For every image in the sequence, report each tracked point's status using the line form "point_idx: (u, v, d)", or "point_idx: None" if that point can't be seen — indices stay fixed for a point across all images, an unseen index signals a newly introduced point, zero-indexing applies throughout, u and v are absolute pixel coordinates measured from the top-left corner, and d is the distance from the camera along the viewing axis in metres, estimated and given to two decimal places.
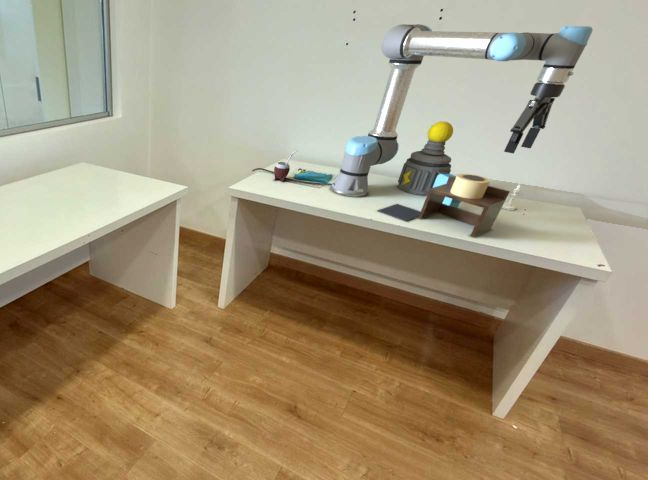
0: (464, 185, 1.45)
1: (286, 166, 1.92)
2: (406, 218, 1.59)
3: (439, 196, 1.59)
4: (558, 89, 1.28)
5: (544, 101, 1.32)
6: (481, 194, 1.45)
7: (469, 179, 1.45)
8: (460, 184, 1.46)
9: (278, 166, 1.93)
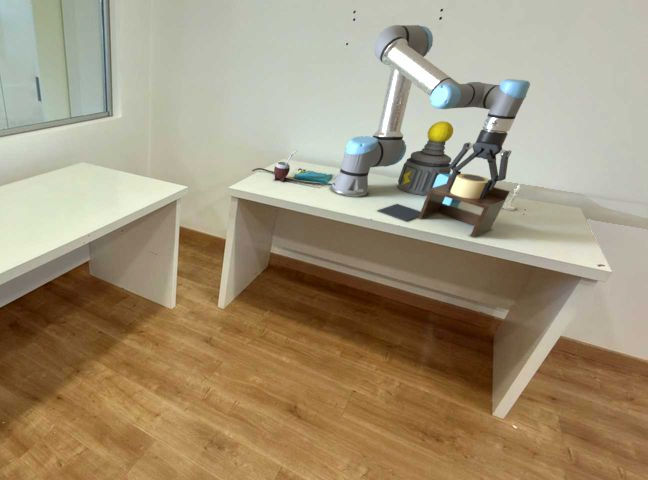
0: (464, 185, 1.45)
1: (286, 166, 1.92)
2: (406, 218, 1.59)
3: (439, 196, 1.59)
4: (482, 135, 1.38)
5: (482, 146, 1.41)
6: (481, 194, 1.45)
7: (469, 179, 1.44)
8: (460, 184, 1.46)
9: (278, 166, 1.93)
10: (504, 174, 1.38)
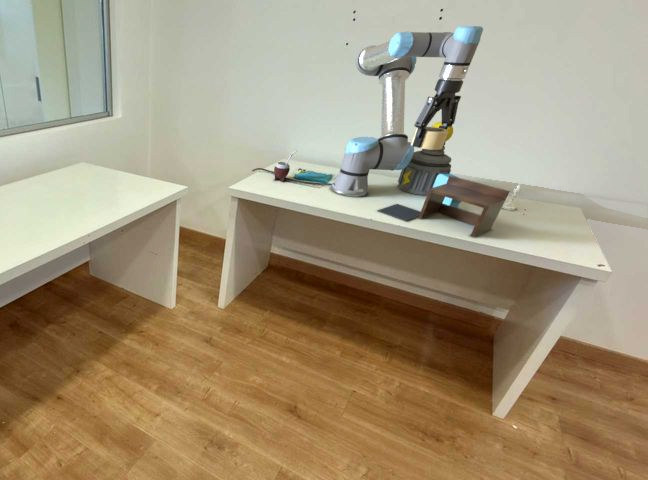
0: (443, 137, 1.44)
1: (286, 166, 1.92)
2: (406, 218, 1.59)
3: (439, 196, 1.59)
4: (454, 85, 1.36)
5: (445, 96, 1.40)
6: None
7: (441, 131, 1.45)
8: (440, 138, 1.44)
9: (278, 166, 1.93)
10: None
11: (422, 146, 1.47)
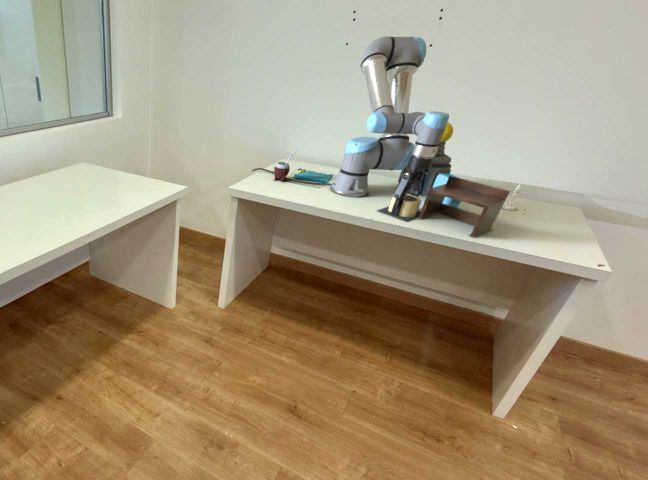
0: (417, 206, 1.59)
1: (286, 166, 1.92)
2: (406, 218, 1.59)
3: (439, 196, 1.59)
4: (427, 163, 1.50)
5: (418, 171, 1.54)
6: None
7: (416, 200, 1.59)
8: (415, 207, 1.58)
9: (278, 166, 1.93)
10: None
11: (400, 214, 1.61)
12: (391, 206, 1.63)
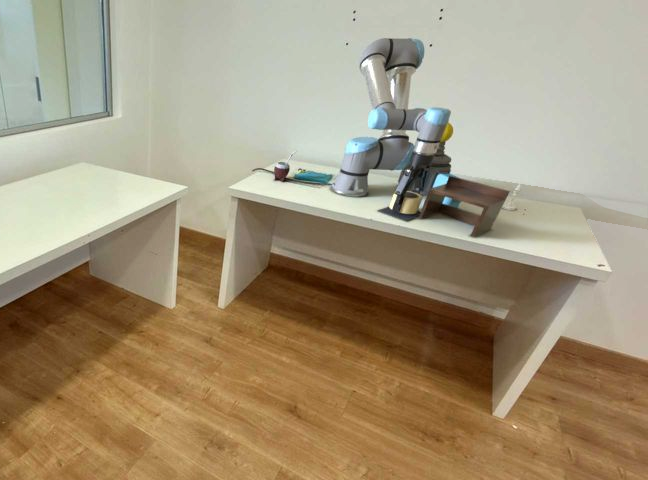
0: (419, 203, 1.58)
1: (286, 166, 1.92)
2: (406, 218, 1.59)
3: (439, 196, 1.59)
4: (428, 159, 1.49)
5: (419, 168, 1.53)
6: None
7: (417, 197, 1.58)
8: (416, 204, 1.58)
9: (278, 166, 1.93)
10: None
11: (401, 211, 1.60)
12: (392, 203, 1.63)
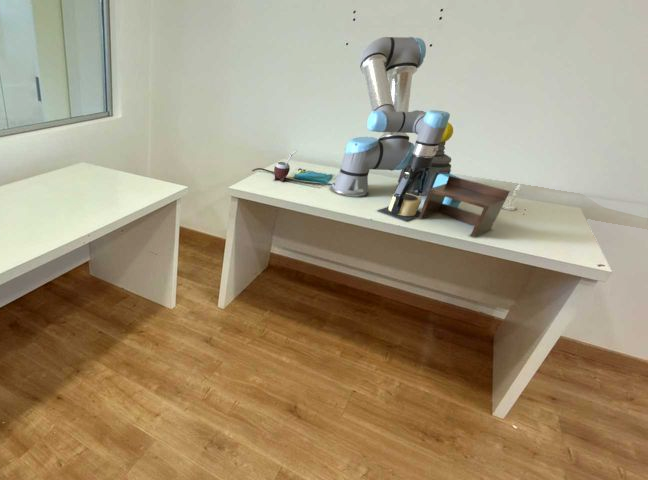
0: (417, 205, 1.59)
1: (286, 166, 1.92)
2: (406, 218, 1.59)
3: (439, 196, 1.59)
4: (427, 162, 1.50)
5: (418, 170, 1.54)
6: None
7: (416, 199, 1.59)
8: (415, 206, 1.58)
9: (278, 166, 1.93)
10: None
11: (400, 213, 1.61)
12: (391, 205, 1.63)
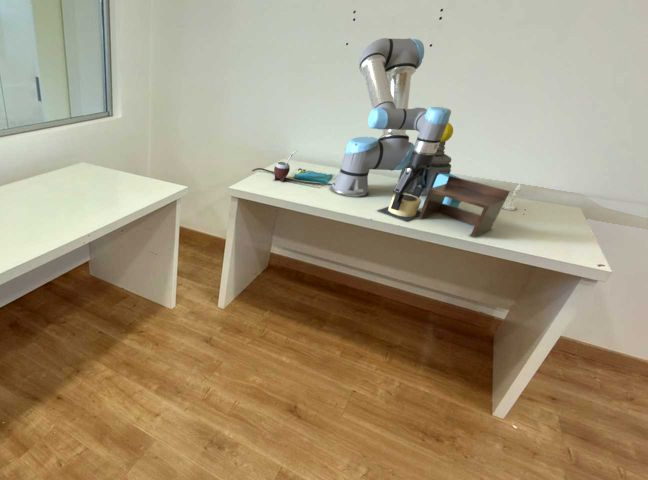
0: (417, 206, 1.59)
1: (286, 166, 1.92)
2: (406, 218, 1.59)
3: (439, 196, 1.59)
4: (428, 159, 1.49)
5: (419, 167, 1.53)
6: None
7: (415, 200, 1.59)
8: (415, 207, 1.58)
9: (278, 166, 1.93)
10: None
11: (400, 214, 1.61)
12: None
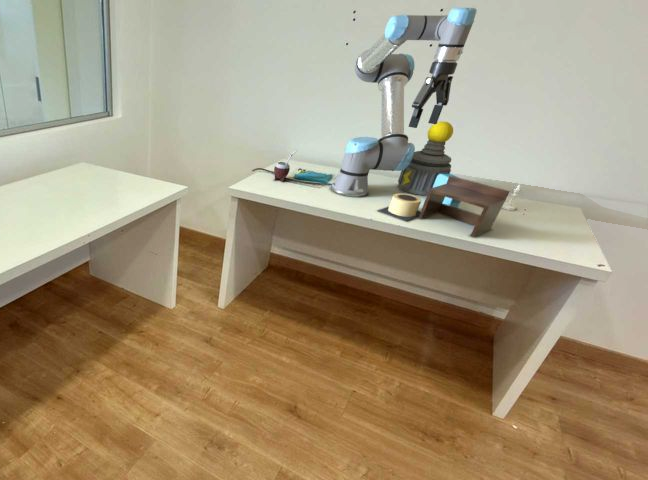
0: (417, 206, 1.59)
1: (286, 166, 1.92)
2: (406, 218, 1.59)
3: (439, 196, 1.59)
4: (451, 67, 1.38)
5: (440, 78, 1.42)
6: None
7: (415, 200, 1.59)
8: (415, 207, 1.58)
9: (278, 166, 1.93)
10: None
11: (400, 214, 1.61)
12: (391, 206, 1.64)
